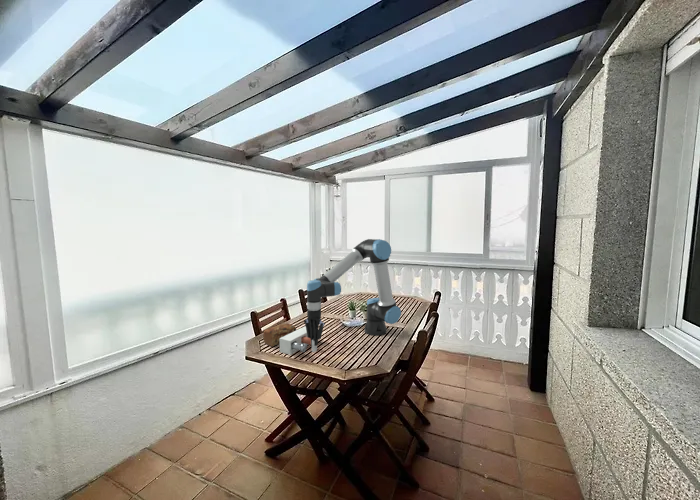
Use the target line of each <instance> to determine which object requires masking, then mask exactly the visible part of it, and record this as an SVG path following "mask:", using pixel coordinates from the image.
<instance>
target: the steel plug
mask: <svg viewBox="0 0 700 500" xmlns="http://www.w3.org/2000/svg"><path fill="white" fill-rule="evenodd" d="M291 348H293V349H297V350H298V351H300V352H301V353H305V352H306V351H307V349H308V345H307V344H305V343H303V344H301V343H297V342H292V343H291Z"/></svg>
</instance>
